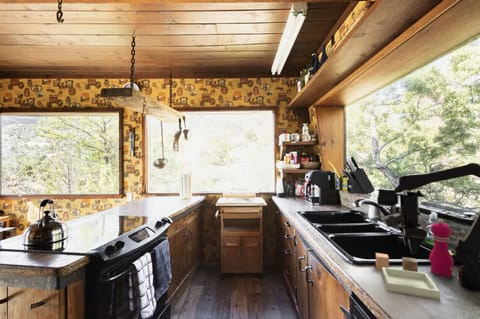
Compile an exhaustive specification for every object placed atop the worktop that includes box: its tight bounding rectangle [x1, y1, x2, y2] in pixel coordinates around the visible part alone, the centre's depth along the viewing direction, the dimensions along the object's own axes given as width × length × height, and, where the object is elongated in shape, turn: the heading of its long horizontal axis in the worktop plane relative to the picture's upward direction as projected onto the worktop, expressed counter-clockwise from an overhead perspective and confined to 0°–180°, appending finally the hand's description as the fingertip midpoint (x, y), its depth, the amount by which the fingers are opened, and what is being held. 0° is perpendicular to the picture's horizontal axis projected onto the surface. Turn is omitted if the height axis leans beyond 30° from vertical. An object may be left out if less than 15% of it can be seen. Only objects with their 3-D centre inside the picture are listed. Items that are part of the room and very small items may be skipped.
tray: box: [381, 267, 441, 301], centre depth 84 cm, size 14×14×3 cm
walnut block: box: [401, 256, 419, 272], centre depth 94 cm, size 4×4×5 cm
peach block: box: [375, 252, 390, 271], centre depth 98 cm, size 4×4×5 cm
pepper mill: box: [428, 218, 455, 277], centre depth 95 cm, size 7×7×20 cm
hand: (410, 249), depth 94 cm, fingers open, 9 cm apart
